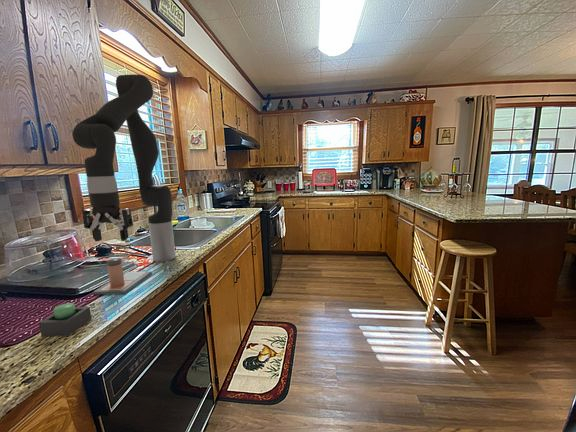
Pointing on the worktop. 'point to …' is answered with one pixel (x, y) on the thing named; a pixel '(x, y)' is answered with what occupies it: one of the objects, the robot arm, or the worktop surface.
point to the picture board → (130, 282)
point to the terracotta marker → (115, 272)
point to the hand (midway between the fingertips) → (111, 240)
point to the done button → (64, 310)
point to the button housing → (65, 323)
